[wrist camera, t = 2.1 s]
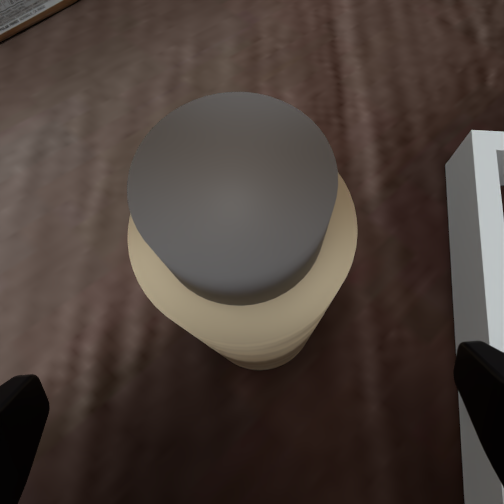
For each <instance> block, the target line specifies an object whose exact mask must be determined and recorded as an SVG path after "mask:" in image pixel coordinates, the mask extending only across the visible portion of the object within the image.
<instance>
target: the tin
mask: <svg viewBox="0 0 504 504" xmlns="http://www.w3.org/2000/svg"><path fill="white" fill-rule="evenodd" d="M76 1H77V0H0V42H1V41H3V40H5V39H7V38H9V37H11V36H13V35H15V34H17V33H18V32H20V31H22V30H24V29H26V28H28V27H30V26H32V25H34V24H36V23H37V22H39V21H41V20H43V19H45V18H47V17H49V16H51V15H53V14H54V13H56V12H58V11H60V10H62V9H64V8H66V7H68V6H70V5H71V4H73V3H75V2H76Z"/></svg>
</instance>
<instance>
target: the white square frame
mask: <svg viewBox="0 0 504 504" xmlns="http://www.w3.org/2000/svg"><path fill="white" fill-rule="evenodd" d="M445 170H446V187H447V205H448V222H449V240H450V257H451V275H452V293H453V310H454V328H455V345H456V354H457V349H458V346H459V344H460V343H461V342H465V341H483V342H485V343H487V344H489V345H490V346H492V347H494V348H496V349H498V350H500V351H502V352H504V219H503V210H502V200H501V191H500V185H503V186H504V132H499V131H481V130H471V131H470V133H469V134H468V135H467V137H466V138H465V139H464V141H463V142H462V143H461V145H460V146H459V147H458V149H457V150H456V151H455V153H454V154H453V155H452V157H451V158H450V159H449V161H448V162H447V163H446V165H445ZM458 398H459V415H460V433H461V450H462V468H463V486H464V503H465V504H504V487H503V485H502V483H501V482H500V480H499V478H498V476H497V474H496V473H495V471H494V469H493V467H492V465H491V463H490V461H489V459H488V458H487V456H486V454H485V452H484V449H483V447H482V445H481V443H480V441H479V438H478V436H477V434H476V431H475V429H474V426H473V424H472V422H471V419H470V417H469V415H468V412H467V410H466V407H465V405H464V403H463V400H462V398H461V396H460V393H459V391H458Z"/></svg>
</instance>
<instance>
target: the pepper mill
mask: <svg viewBox="0 0 504 504" xmlns="http://www.w3.org/2000/svg"><path fill="white" fill-rule="evenodd" d="M127 197H128V205H129V209H130V213H131V214H130V219H129V226H128V249H129V257H130V261H131V264H132V268H133V271H134V273H135V276H136V278H137V280H138V283H139V284H140V286H141V288H142V289H143V291H144V293H145V294H146V296H147V297H148V298H149V299H150V300H151V302H152V303H153V304H154V305H155V306H156V307H157V308H158V309H159V310H160V311H161V312H162V313H163V314H164V315H165V316H167V317H168V318H169V319H171V320H172V321H174V322H175V323H176V324H178V325H179V326H181V327H182V328H184V329H185V330H186V331H188V332H189V333H191V334H192V335H194V336H195V337H196V338H198V339H199V340H201V341H202V342H204V343H205V344H206V345H208V346H209V347H211V348H212V349H214V350H215V351H216V352H218V353H219V354H221V355H222V356H224V357H225V358H226V359H228V360H229V361H231V362H232V363H234V364H236V365H238V366H240V367H243V368H246V369H251V370H270V369H274V368H277V367H280V366H282V365H284V364H286V363H288V362H289V361H290V360H292V359H293V358H294V357H295V356H296V355H297V354H298V353H299V352H300V351H301V350H302V348H303V347H304V345H305V344H306V342H307V341H308V339H309V337H310V336H311V334H312V332H313V331H314V329H315V328H316V326H317V324H318V323H319V321H320V320H321V318H322V316H323V315H324V313H325V311H326V310H327V308H328V307H329V305H330V303H331V302H332V300H333V298H334V297H335V295H336V294H337V292H338V290H339V289H340V287H341V285H342V284H343V282H344V280H345V278H346V277H347V275H348V272H349V270H350V267H351V265H352V262H353V258H354V254H355V250H356V244H357V218H356V213H355V207H354V204H353V201H352V198H351V195H350V192H349V190H348V188H347V186H346V184H345V182H344V181H343V179H342V178H341V176H340V175H339V173H338V171H337V165H336V160H335V157H334V154H333V151H332V148H331V146H330V145H329V143H328V141H327V139H326V137H325V136H324V134H323V133H322V131H321V130H320V129H319V127H318V126H317V125H316V124H315V123H314V122H313V121H312V120H311V119H310V118H309V117H307V116H306V115H305V114H304V113H303V112H301V111H300V110H298V109H297V108H295V107H293V106H292V105H290V104H288V103H286V102H283V101H281V100H279V99H276V98H273V97H270V96H266V95H262V94H257V93H248V92H227V93H218V94H213V95H209V96H205V97H202V98H199V99H196V100H193V101H191V102H189V103H187V104H184V105H182V106H181V107H179V108H177V109H175V110H174V111H172V112H171V113H169V114H168V115H167V116H165V117H164V118H163V119H161V120H160V121H159V122H158V123H157V124H156V125H155V126H154V127H153V128H152V129H151V130H150V132H149V133H148V134H147V135H146V136H145V138H144V139H143V141H142V143H141V144H140V146H139V147H138V149H137V151H136V153H135V156H134V158H133V160H132V164H131V167H130V170H129V176H128V181H127Z"/></svg>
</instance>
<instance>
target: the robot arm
mask: <svg viewBox="0 0 504 504" xmlns="http://www.w3.org/2000/svg"><path fill="white" fill-rule="evenodd" d="M454 380H455V384H456V386H457V389H458V391H459V393H460V396H461V398H462V400H463V403H464V405H465V407H466V410H467V412H468V415H469V417H470V419H471V422H472V424H473V426H474V429H475V431H476V434H477V436H478V438H479V441H480V443H481V445H482V447H483V449H484V452H485V454H486V456H487V458H488V459H489V461H490V463H491V465H492V467H493V469H494V471H495V473H496V474H497V476H498V478H499V480H500V482H501V483H502V485H503V487H504V352H502V351H500V350H498V349H496V348H494V347H492V346H490V345H489V344H487V343H485V342H483V341H465V342H461V343H460V344H459V346H458V349H457V354H456V360H455V366H454ZM48 414H49V401H48V398H47V396H46V394H45V391H44V389H43V387H42V384H41V382H40V379H39V378H38V377H37V376H36V375H33V374H30V375H18V376H15V377H13V378H11V379H10V380H8V381H7V382H5V383H4V384H2V385H1V386H0V504H18V502H19V499H20V497H21V495H22V492H23V490H24V487H25V485H26V482H27V479H28V476H29V473H30V470H31V467H32V464H33V461H34V458H35V455H36V452H37V448H38V445H39V442H40V439H41V436H42V433H43V430H44V426H45V423H46V420H47V417H48Z"/></svg>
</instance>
